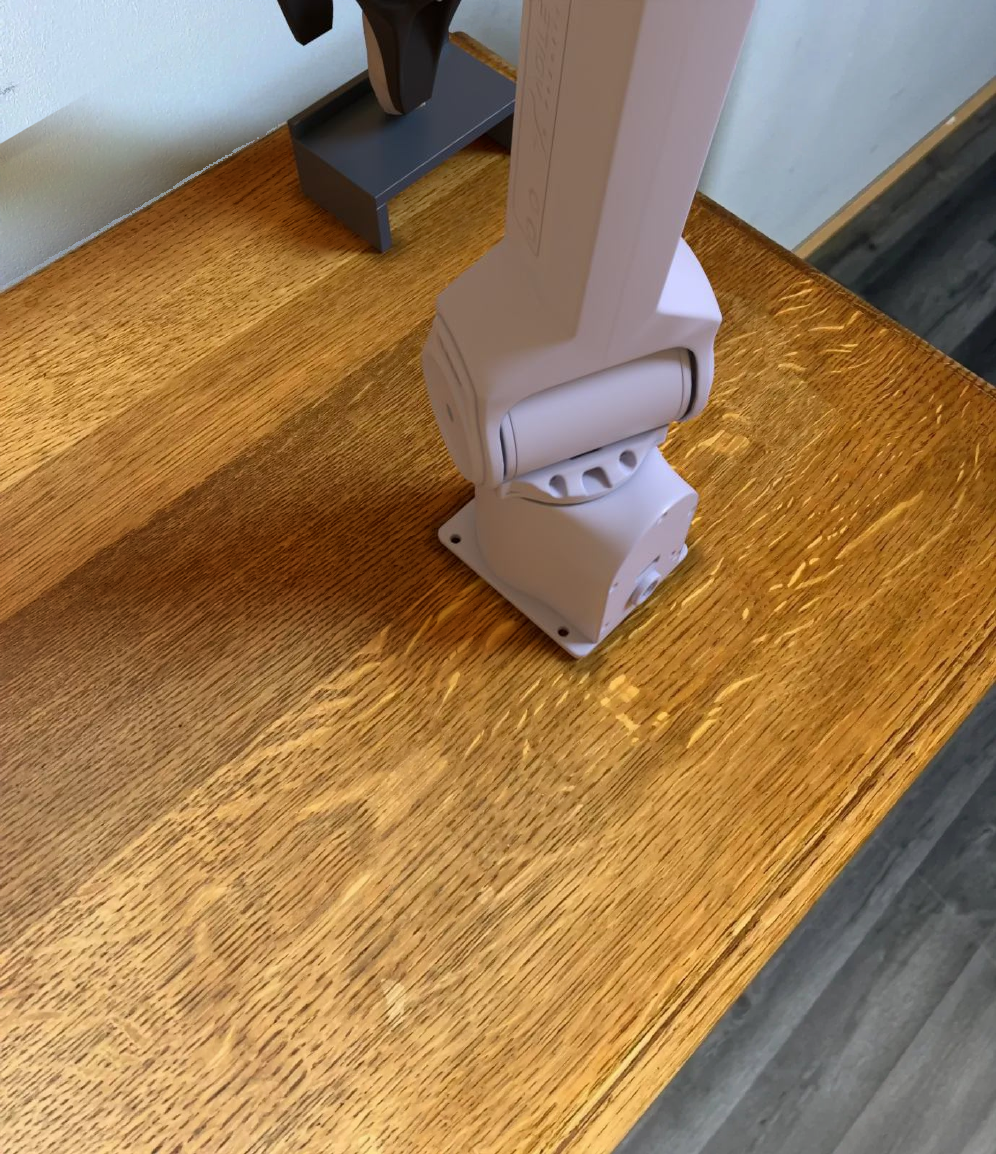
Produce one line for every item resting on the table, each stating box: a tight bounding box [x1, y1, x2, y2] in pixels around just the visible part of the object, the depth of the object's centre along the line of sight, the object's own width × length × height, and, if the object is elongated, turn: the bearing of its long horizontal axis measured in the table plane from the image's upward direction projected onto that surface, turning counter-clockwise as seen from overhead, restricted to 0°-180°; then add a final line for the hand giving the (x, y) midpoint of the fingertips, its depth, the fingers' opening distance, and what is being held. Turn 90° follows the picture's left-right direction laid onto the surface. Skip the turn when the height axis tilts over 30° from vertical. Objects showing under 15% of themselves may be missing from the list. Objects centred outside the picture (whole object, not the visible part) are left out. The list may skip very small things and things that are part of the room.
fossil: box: [361, 10, 425, 115], centre depth 52 cm, size 6×4×10 cm, turn 167°
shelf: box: [286, 28, 517, 254], centre depth 58 cm, size 7×12×5 cm, turn 136°
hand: (362, 68), depth 52 cm, fingers open, 7 cm apart
